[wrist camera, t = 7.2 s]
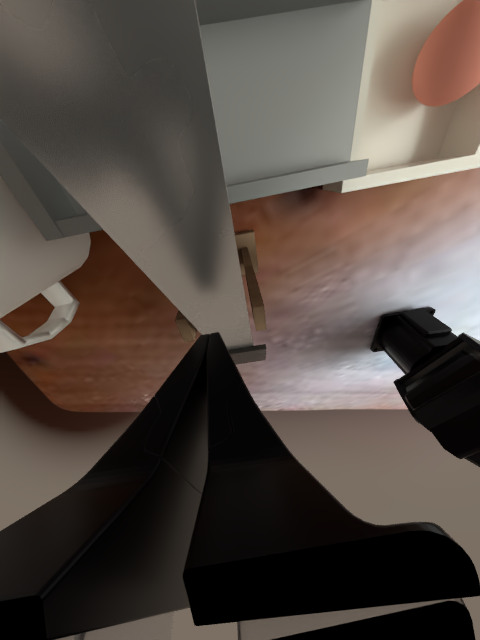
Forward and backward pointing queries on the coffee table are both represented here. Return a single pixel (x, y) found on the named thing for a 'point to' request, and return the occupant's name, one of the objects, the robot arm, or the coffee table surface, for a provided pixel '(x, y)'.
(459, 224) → the coffee table surface
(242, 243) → the lever stand
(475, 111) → the cream square tray
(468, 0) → the ball
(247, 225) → the coffee table surface
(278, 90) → the chute
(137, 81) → the lever
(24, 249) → the mug
